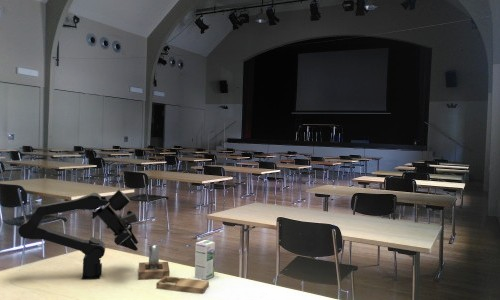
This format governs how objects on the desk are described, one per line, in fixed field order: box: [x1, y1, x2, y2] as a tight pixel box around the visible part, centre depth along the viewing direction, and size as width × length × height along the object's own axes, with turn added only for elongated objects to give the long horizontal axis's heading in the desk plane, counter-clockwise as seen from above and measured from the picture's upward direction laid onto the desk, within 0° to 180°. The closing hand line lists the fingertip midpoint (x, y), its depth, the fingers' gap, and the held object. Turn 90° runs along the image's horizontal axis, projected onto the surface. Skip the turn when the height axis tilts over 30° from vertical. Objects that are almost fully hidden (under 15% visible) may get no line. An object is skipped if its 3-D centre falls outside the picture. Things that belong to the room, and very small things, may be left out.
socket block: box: [137, 261, 171, 281], centre depth 172 cm, size 12×12×3 cm
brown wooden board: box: [155, 275, 210, 295], centre depth 159 cm, size 18×8×2 cm, turn 79°
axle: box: [148, 243, 160, 270], centre depth 172 cm, size 4×4×12 cm
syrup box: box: [194, 239, 216, 281], centre depth 171 cm, size 6×6×14 cm
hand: (137, 246), depth 171 cm, fingers open, 9 cm apart
